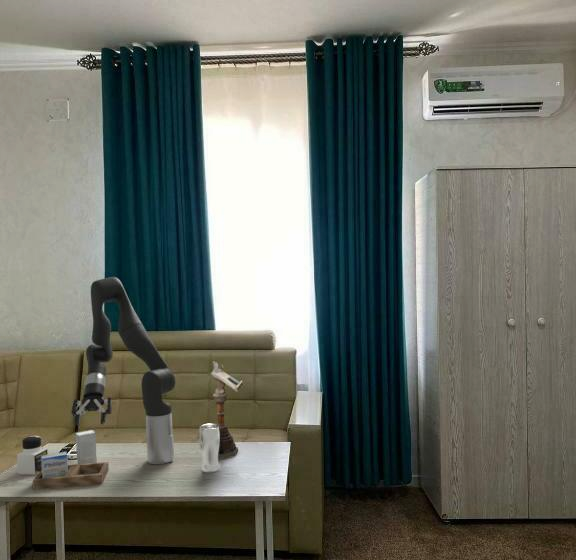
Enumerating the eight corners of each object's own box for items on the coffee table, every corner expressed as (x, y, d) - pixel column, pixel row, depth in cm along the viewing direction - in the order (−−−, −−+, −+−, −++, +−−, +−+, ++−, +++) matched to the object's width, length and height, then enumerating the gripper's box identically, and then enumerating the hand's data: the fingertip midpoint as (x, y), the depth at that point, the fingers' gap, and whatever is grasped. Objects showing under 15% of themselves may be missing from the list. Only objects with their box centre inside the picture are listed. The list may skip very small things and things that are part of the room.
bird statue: (254, 447, 212) (250, 356, 211) (247, 459, 199) (243, 362, 198) (212, 446, 214) (208, 357, 213) (202, 458, 201) (199, 363, 200)
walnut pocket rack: (108, 470, 192) (108, 461, 192) (102, 483, 180) (101, 474, 180) (44, 475, 189) (43, 467, 189) (33, 489, 177) (32, 480, 177)
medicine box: (42, 485, 180) (41, 458, 180) (42, 480, 184) (40, 455, 183) (68, 480, 183) (67, 454, 183) (67, 475, 187) (66, 450, 187)
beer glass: (224, 467, 191) (223, 424, 191) (213, 474, 185) (212, 430, 184) (207, 464, 194) (206, 422, 194) (196, 471, 188) (194, 428, 187)
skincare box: (94, 462, 201) (92, 429, 201) (97, 465, 197) (95, 432, 197) (76, 465, 198) (75, 432, 197) (79, 469, 194) (78, 435, 194)
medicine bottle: (35, 475, 190) (34, 440, 189) (17, 474, 191) (15, 440, 191) (48, 467, 197) (47, 434, 196) (30, 467, 198) (29, 434, 198)
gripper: (74, 383, 212) (67, 420, 201) (112, 380, 214) (108, 417, 203) (77, 393, 218) (72, 430, 206) (115, 391, 220) (111, 427, 209)
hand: (90, 424), depth 205 cm, fingers open, 8 cm apart
